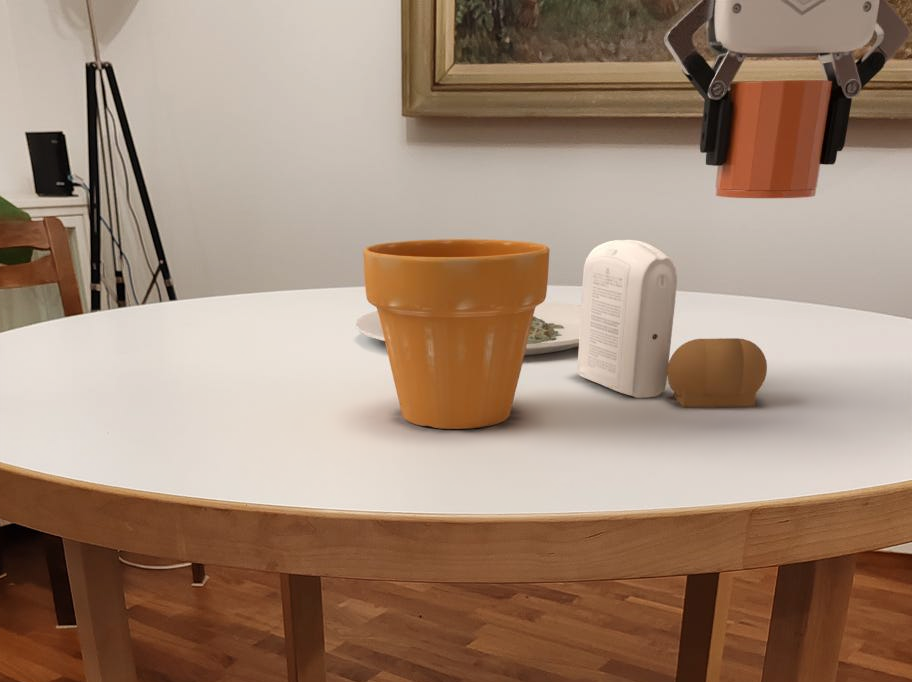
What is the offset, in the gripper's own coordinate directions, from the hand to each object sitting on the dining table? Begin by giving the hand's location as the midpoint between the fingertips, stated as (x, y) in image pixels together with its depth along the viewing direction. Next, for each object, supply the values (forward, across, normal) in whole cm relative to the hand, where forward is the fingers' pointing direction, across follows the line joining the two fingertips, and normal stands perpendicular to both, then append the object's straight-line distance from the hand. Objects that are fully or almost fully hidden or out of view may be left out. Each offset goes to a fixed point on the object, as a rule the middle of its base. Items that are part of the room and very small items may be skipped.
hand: (769, 162), depth 69 cm
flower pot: (+19, -22, +3) cm, 29 cm away
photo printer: (+19, -7, +13) cm, 24 cm away
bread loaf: (+19, 0, +7) cm, 20 cm away
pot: (+2, 0, 0) cm, 2 cm away
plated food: (+19, -18, +38) cm, 46 cm away
